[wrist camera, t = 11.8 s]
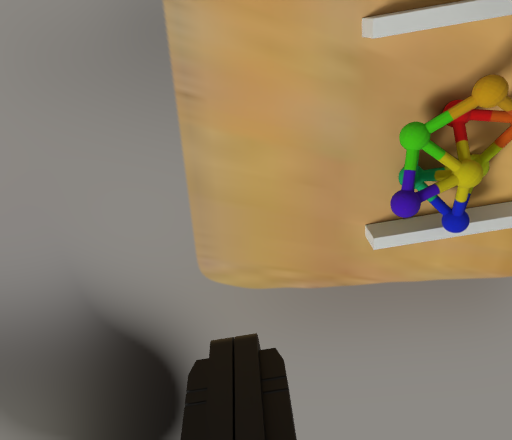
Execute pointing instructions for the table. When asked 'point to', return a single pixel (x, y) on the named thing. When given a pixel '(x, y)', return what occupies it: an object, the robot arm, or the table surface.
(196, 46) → the table surface
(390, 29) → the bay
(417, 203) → the decorative model
